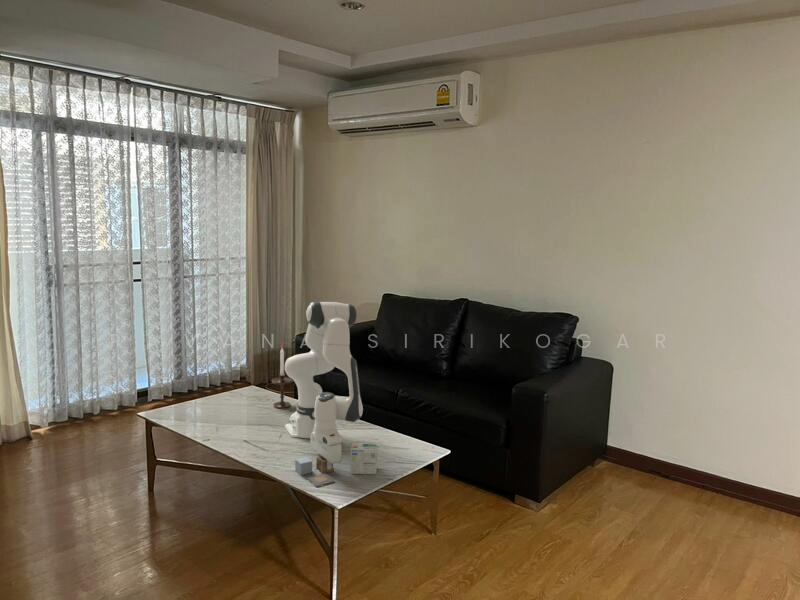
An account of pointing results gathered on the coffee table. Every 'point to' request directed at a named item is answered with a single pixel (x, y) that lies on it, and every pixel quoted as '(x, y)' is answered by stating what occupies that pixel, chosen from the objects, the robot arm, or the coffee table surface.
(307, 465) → the slate block
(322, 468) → the walnut block
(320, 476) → the tile
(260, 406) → the coffee table surface
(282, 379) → the candlestick
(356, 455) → the light bulb box
